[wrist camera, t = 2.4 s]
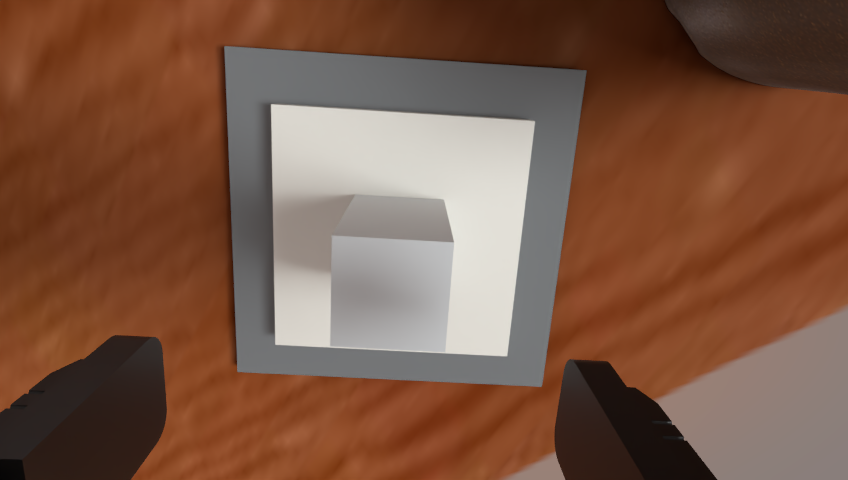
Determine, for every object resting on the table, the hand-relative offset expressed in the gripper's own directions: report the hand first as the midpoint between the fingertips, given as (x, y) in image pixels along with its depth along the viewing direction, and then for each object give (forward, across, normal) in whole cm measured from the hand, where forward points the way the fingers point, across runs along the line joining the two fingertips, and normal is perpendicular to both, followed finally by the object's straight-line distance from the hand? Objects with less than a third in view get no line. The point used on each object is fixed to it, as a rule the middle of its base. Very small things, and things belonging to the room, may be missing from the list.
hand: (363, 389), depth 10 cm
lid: (+12, 0, 0) cm, 12 cm away
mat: (+13, 0, 0) cm, 13 cm away
